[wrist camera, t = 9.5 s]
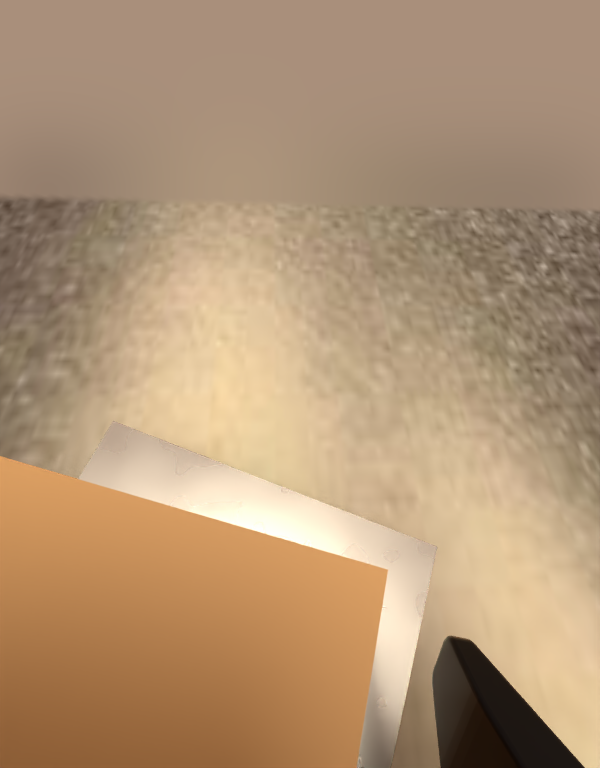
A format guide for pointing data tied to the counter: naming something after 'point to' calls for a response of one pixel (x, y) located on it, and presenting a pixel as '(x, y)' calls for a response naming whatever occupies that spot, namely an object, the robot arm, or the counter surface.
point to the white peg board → (297, 524)
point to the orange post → (173, 636)
